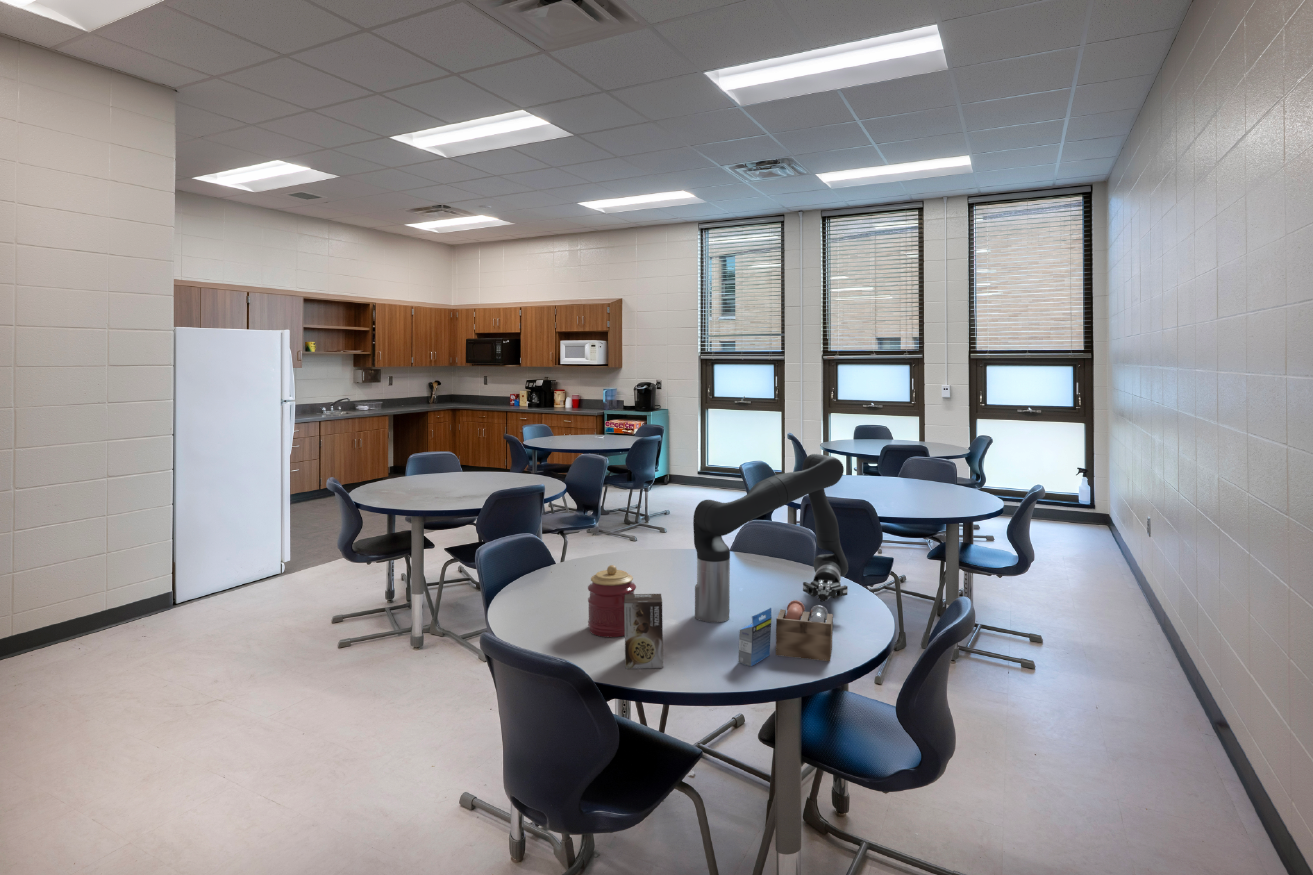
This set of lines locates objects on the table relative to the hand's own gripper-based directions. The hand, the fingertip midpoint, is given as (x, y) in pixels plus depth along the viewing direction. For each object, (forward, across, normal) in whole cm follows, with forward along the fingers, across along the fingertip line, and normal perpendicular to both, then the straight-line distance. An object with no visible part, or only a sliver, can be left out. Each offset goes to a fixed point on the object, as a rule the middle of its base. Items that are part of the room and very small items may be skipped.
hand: (822, 597), depth 195 cm
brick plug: (+16, -6, +2) cm, 17 cm away
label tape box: (+27, -14, +8) cm, 32 cm away
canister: (+19, -54, +8) cm, 58 cm away
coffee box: (+38, -39, +8) cm, 55 cm away
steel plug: (+18, 0, +2) cm, 18 cm away
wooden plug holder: (+19, -3, +8) cm, 21 cm away
